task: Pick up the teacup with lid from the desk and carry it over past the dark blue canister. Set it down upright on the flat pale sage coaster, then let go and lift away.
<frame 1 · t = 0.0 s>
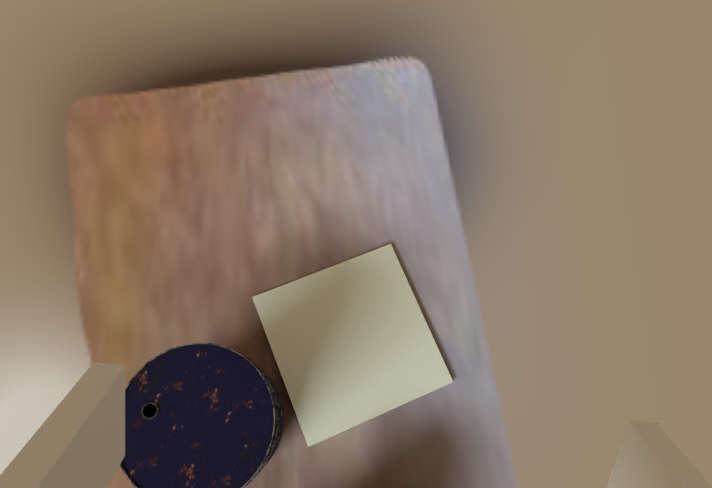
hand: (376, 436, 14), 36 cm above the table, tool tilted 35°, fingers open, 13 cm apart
coaster: (351, 340, 51), on the table
dark blue canister: (228, 419, 48), on the table
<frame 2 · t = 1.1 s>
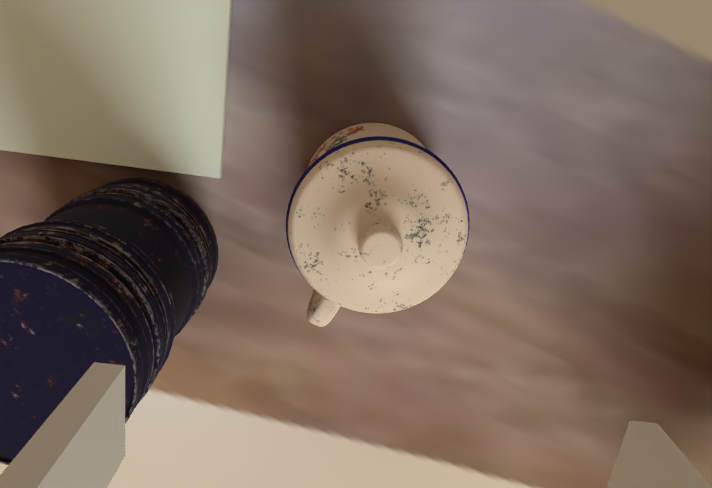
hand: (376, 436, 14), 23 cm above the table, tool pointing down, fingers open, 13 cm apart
coaster: (109, 44, 33), on the table
teacup with lid: (360, 208, 36), on the table
dark blue canister: (146, 248, 37), on the table
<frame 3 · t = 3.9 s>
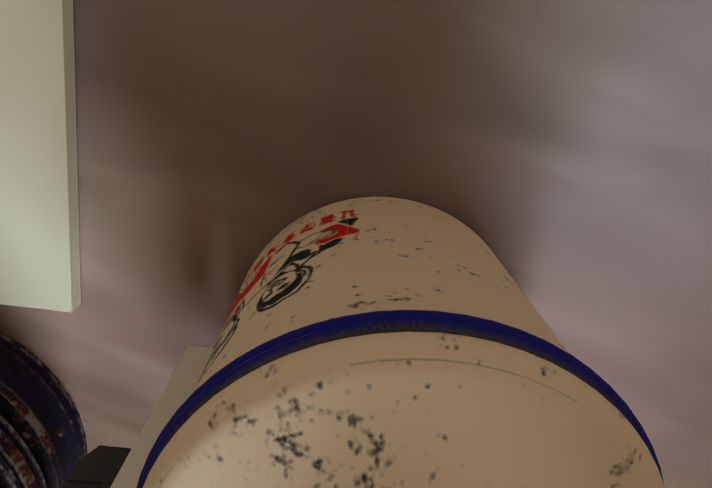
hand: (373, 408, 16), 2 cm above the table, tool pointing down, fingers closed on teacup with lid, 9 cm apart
teacup with lid: (353, 358, 18), on the table, touching gripper
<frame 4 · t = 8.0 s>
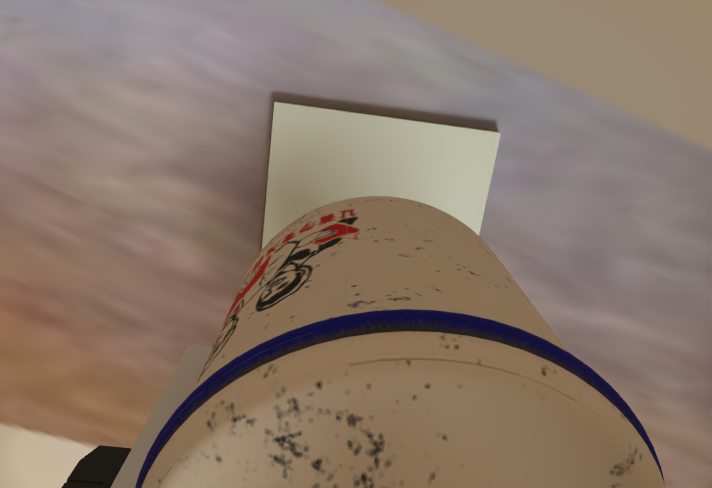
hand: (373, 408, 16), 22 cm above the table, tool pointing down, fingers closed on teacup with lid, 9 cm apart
coaster: (372, 223, 37), on the table
teacup with lid: (353, 358, 18), point 19 cm above the table, touching gripper
when the fingers open (4 cm above the table, at t = 12.0 s): teacup with lid drops 1 cm, resting on coaster.
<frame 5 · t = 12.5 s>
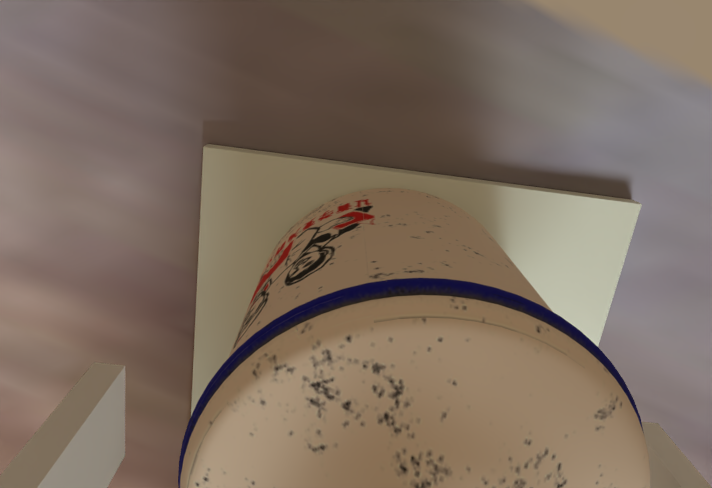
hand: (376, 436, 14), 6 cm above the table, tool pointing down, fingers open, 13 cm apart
coaster: (391, 360, 20), on the table
teacup with lid: (364, 339, 19), resting on coaster
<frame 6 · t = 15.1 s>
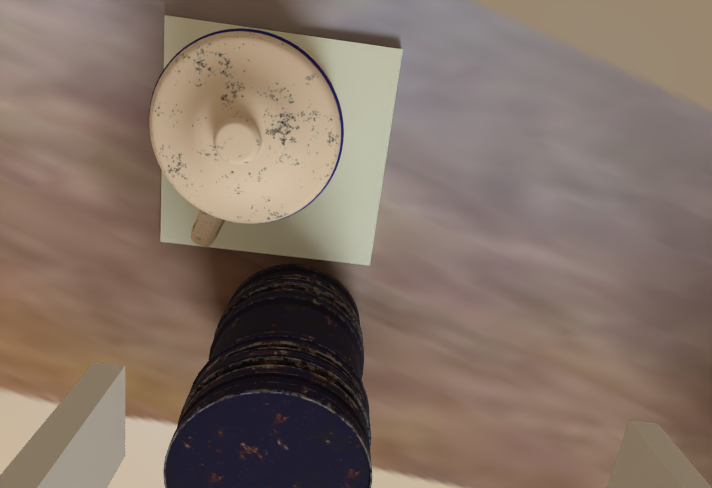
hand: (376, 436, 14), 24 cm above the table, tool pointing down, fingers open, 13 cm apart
coaster: (276, 148, 35), on the table
teacup with lid: (258, 132, 35), resting on coaster
dark blue canister: (293, 325, 40), on the table
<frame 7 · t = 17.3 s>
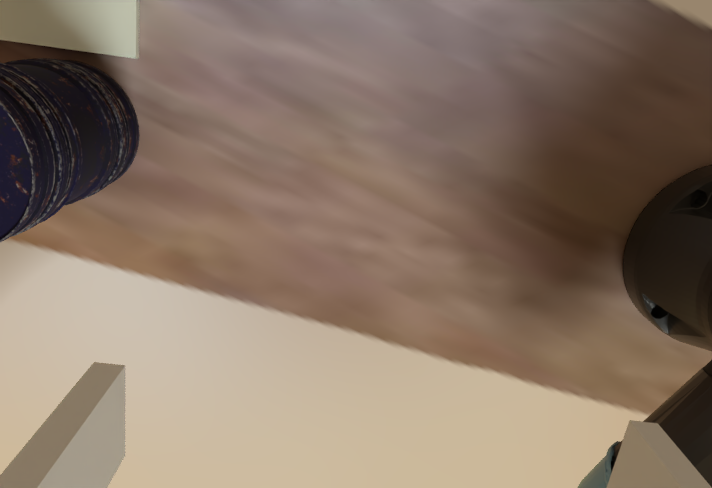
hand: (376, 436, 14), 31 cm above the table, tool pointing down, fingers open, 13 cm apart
dark blue canister: (76, 126, 42), on the table
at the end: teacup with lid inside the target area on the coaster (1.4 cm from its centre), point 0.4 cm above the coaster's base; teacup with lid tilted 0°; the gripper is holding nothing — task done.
